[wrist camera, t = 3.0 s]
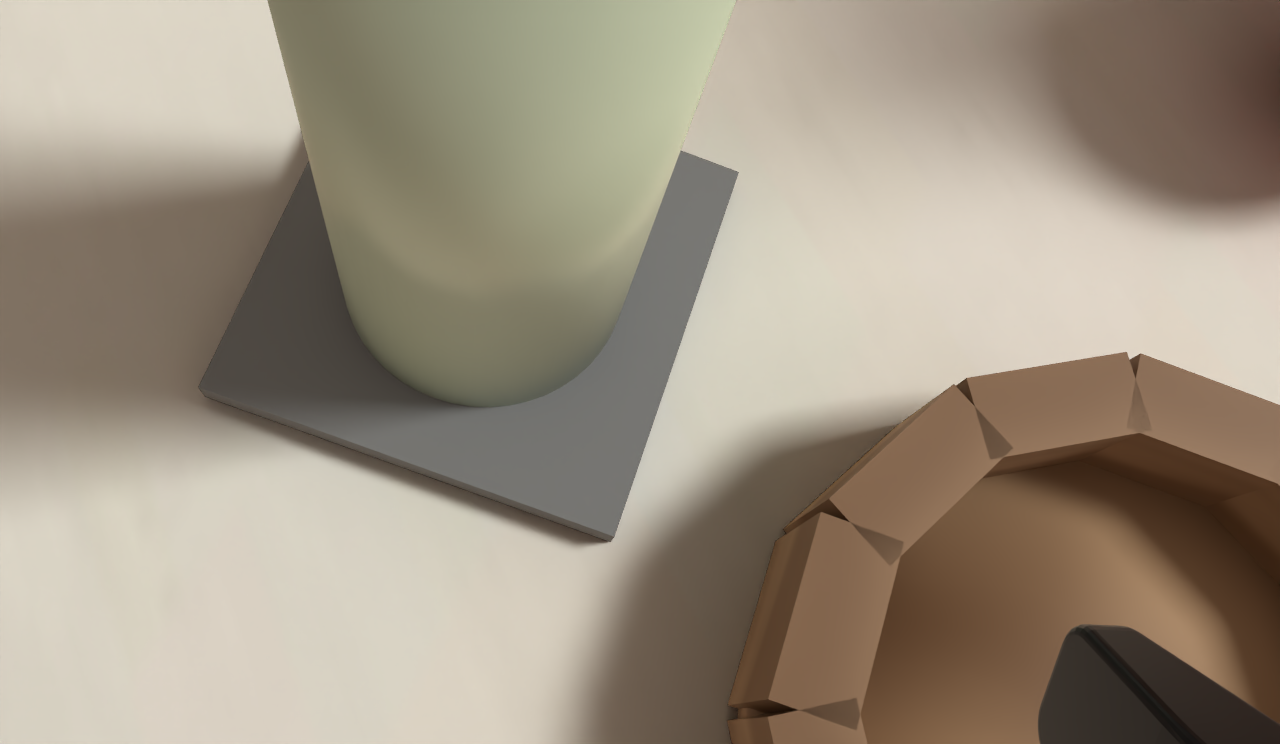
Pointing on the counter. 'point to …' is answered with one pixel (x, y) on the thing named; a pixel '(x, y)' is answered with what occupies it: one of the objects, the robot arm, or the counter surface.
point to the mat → (462, 435)
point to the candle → (492, 171)
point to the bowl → (1021, 556)
